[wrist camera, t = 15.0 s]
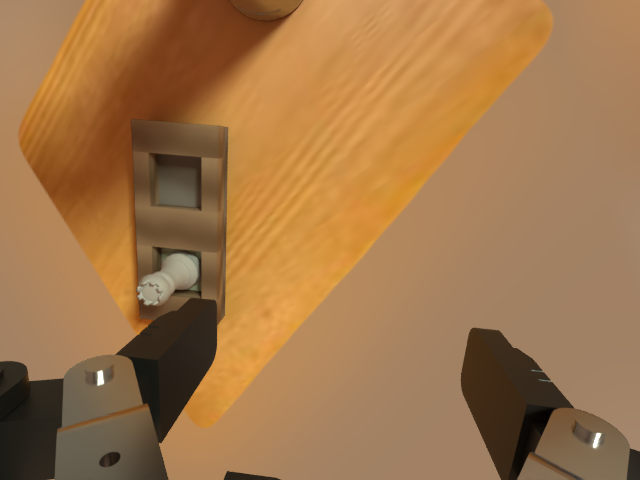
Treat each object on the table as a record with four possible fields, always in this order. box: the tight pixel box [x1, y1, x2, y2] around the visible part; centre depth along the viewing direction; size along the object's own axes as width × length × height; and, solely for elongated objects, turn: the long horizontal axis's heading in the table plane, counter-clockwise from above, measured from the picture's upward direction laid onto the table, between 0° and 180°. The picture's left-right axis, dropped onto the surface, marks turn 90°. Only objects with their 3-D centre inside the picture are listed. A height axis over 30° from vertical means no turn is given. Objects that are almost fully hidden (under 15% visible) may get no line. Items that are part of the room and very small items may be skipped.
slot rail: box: [131, 119, 228, 325], centre depth 41 cm, size 22×9×3 cm, turn 175°
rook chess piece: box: [136, 250, 202, 306], centre depth 39 cm, size 4×4×8 cm
